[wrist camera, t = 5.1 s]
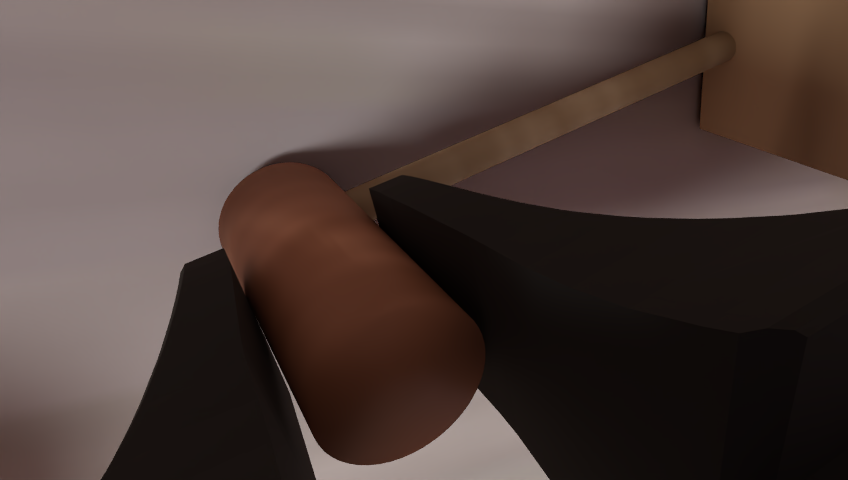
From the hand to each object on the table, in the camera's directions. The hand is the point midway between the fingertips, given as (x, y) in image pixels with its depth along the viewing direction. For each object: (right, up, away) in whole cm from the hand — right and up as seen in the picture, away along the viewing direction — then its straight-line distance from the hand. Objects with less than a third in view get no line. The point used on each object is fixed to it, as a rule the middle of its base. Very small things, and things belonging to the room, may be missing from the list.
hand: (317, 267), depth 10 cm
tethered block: (+5, +4, +3) cm, 7 cm away
